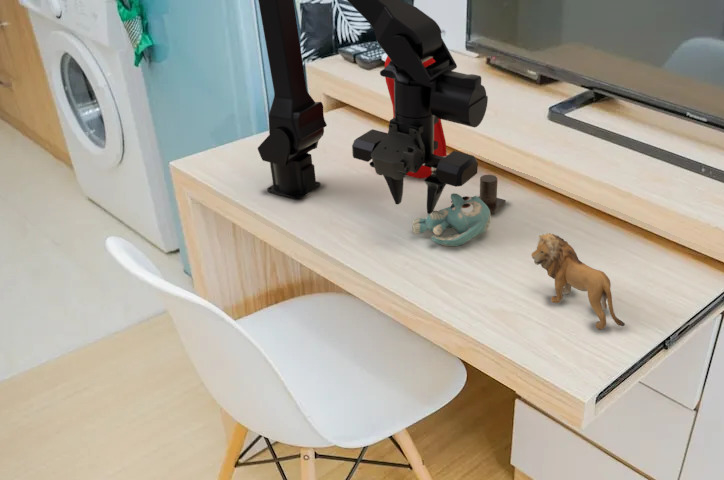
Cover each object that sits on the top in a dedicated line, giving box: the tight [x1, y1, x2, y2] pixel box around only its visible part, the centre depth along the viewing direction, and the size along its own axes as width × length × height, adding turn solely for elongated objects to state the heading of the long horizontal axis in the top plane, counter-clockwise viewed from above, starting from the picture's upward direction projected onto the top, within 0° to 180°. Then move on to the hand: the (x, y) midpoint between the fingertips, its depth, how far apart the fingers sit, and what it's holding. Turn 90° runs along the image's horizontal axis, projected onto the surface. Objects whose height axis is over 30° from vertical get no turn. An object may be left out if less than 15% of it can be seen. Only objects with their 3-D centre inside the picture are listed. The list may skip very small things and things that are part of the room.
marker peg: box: [478, 174, 507, 215], centre depth 128 cm, size 4×4×5 cm
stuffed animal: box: [412, 192, 492, 247], centre depth 119 cm, size 11×7×12 cm
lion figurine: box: [530, 232, 626, 330], centre depth 103 cm, size 15×5×9 cm, turn 50°
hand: (414, 208), depth 122 cm, fingers open, 5 cm apart
